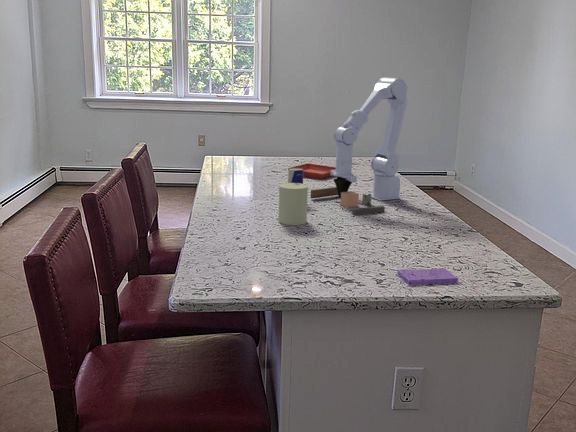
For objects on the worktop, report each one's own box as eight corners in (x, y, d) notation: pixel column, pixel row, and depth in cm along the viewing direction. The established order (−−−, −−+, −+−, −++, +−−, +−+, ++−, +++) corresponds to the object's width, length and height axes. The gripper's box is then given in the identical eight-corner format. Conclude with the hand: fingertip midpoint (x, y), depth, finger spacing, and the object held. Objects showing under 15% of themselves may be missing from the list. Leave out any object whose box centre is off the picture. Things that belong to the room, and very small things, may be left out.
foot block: (351, 203, 218) (351, 191, 217) (358, 206, 214) (358, 193, 213) (340, 204, 216) (341, 192, 215) (347, 207, 212) (347, 194, 211)
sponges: (396, 276, 147) (397, 269, 146) (445, 274, 149) (445, 267, 149) (407, 287, 140) (408, 279, 140) (458, 284, 142) (458, 277, 142)
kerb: (381, 210, 208) (382, 205, 207) (384, 211, 207) (384, 206, 206) (352, 213, 203) (352, 208, 202) (354, 215, 201) (355, 209, 201)
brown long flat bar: (339, 194, 228) (340, 186, 227) (312, 198, 221) (312, 190, 220) (337, 194, 229) (338, 186, 228) (310, 197, 222) (310, 189, 221)
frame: (345, 194, 232) (346, 184, 230) (374, 205, 215) (374, 194, 214) (337, 195, 230) (338, 184, 229) (365, 206, 214) (366, 195, 213)
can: (310, 219, 194) (312, 182, 191) (301, 226, 186) (303, 188, 183) (283, 216, 197) (284, 180, 194) (273, 223, 189) (274, 185, 186)
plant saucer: (341, 174, 272) (342, 167, 272) (322, 181, 258) (322, 173, 257) (307, 170, 282) (307, 163, 281) (286, 175, 267) (286, 168, 266)
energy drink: (300, 204, 214) (302, 170, 211) (286, 203, 215) (287, 169, 212) (303, 200, 219) (304, 168, 216) (289, 199, 220) (290, 167, 217)
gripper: (324, 158, 220) (322, 194, 223) (345, 165, 207) (343, 203, 211) (340, 157, 223) (338, 193, 226) (362, 163, 210) (360, 201, 214)
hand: (342, 198), depth 219 cm, fingers closed
